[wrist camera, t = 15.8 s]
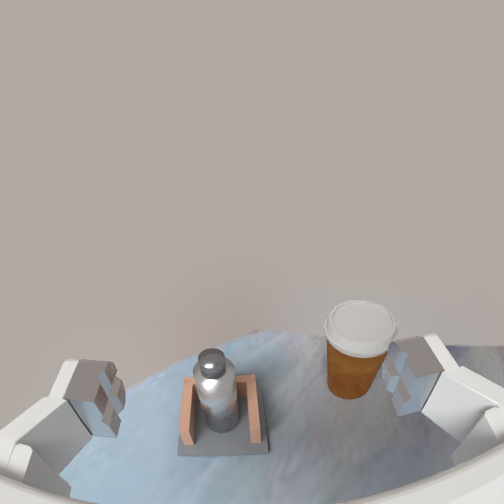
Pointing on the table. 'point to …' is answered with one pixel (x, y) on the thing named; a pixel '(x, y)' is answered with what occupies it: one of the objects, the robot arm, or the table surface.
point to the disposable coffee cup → (357, 345)
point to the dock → (230, 443)
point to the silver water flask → (217, 390)
